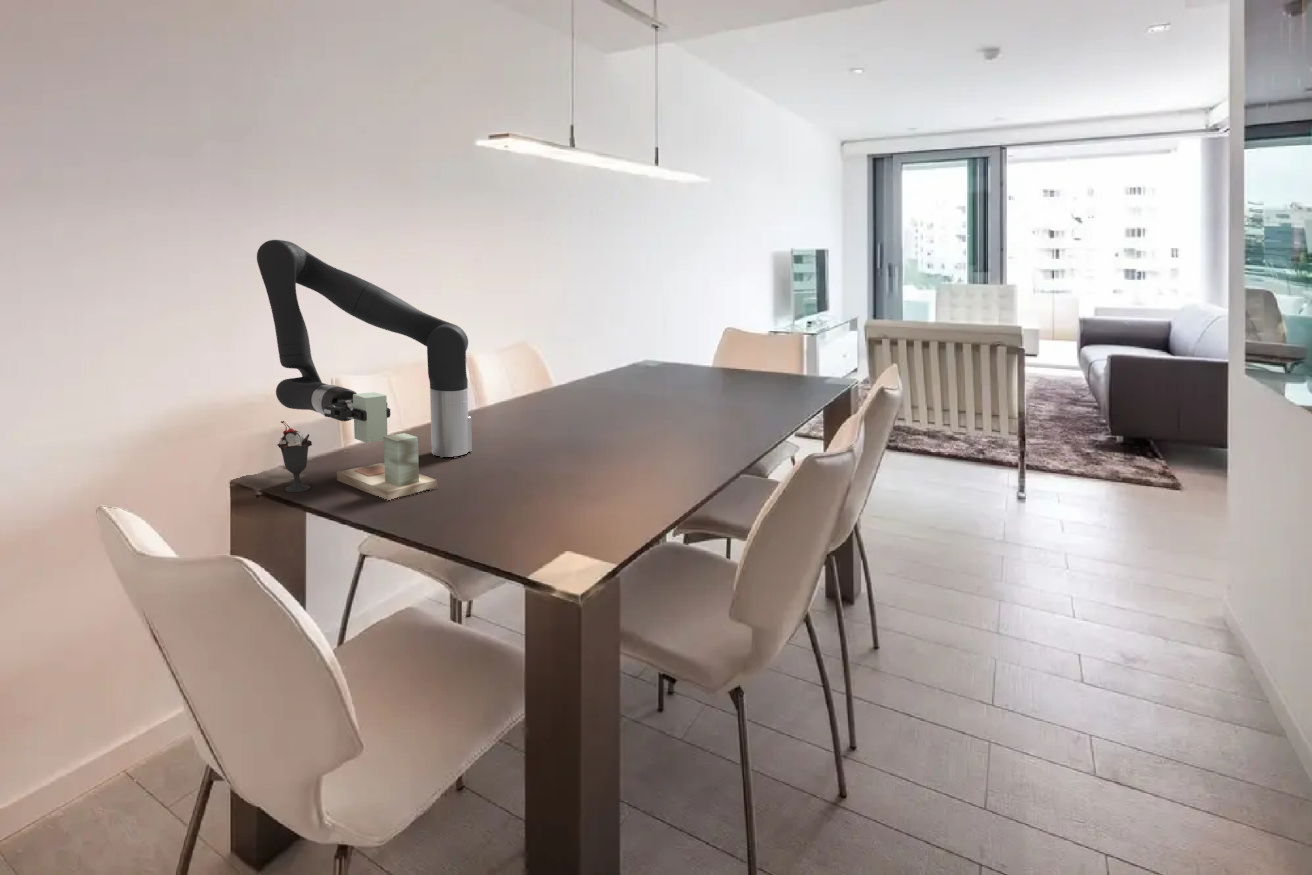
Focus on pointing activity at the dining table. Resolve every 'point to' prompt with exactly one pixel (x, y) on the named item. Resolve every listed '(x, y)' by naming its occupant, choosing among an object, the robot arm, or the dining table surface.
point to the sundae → (295, 456)
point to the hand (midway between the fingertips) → (377, 414)
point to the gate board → (381, 484)
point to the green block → (371, 417)
